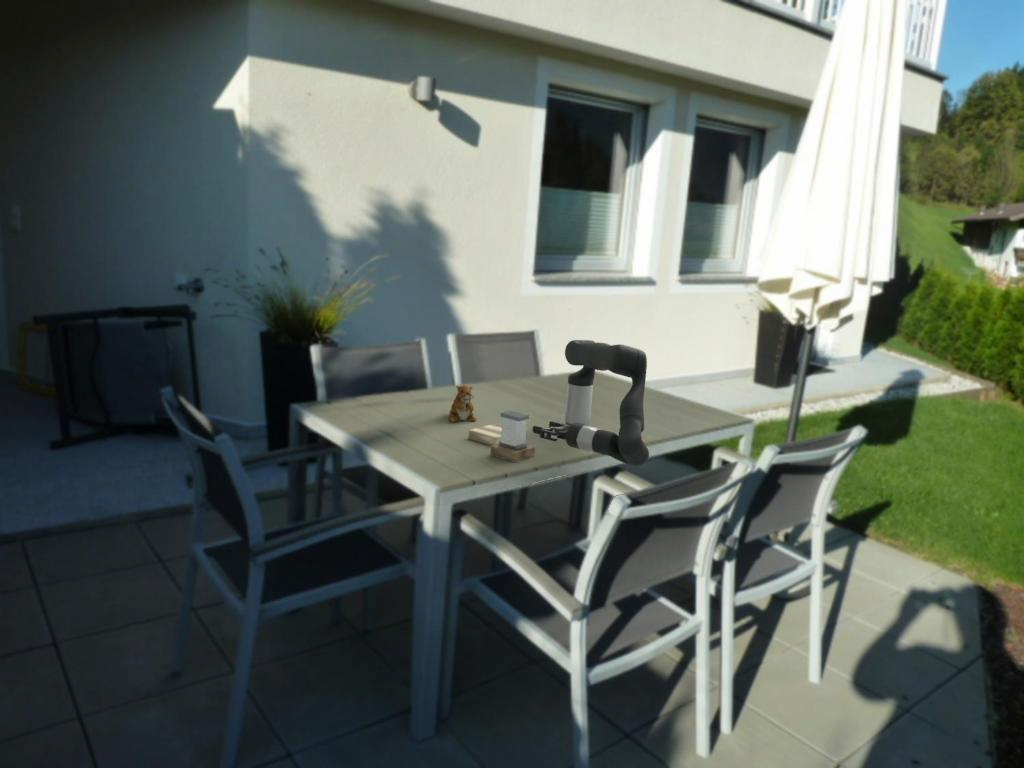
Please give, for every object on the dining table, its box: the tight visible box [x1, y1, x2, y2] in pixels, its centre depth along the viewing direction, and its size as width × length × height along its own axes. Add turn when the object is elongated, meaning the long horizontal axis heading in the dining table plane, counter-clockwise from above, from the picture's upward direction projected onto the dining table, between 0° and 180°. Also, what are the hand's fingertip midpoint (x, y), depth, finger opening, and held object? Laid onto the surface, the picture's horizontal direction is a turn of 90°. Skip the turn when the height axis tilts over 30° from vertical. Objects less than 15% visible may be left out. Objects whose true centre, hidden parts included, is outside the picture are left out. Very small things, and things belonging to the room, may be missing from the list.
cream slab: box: [468, 423, 502, 446], centre depth 261 cm, size 12×12×3 cm
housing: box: [499, 410, 530, 451], centre depth 242 cm, size 5×8×11 cm, turn 51°
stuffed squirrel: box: [448, 385, 478, 423], centre depth 284 cm, size 10×14×13 cm
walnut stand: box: [490, 444, 536, 463], centre depth 244 cm, size 10×10×3 cm
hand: (541, 426), depth 235 cm, fingers open, 8 cm apart
